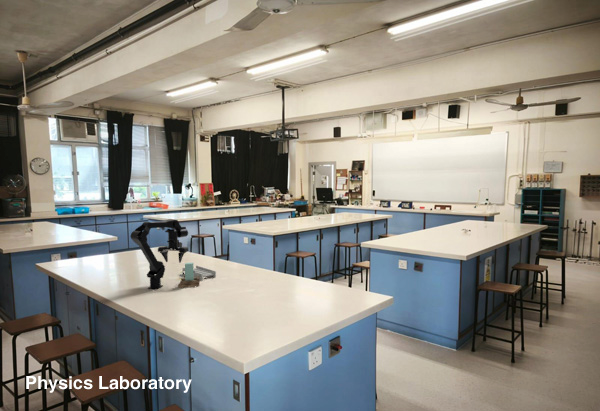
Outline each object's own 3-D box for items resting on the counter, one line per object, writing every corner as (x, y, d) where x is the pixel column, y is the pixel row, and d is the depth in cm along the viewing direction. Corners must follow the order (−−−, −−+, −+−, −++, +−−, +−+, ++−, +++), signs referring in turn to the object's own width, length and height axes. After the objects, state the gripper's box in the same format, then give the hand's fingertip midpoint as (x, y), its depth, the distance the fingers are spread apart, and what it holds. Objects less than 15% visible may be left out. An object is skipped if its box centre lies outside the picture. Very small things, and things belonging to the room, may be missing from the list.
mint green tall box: (185, 283, 218) (184, 264, 217) (185, 282, 221) (185, 263, 221) (194, 283, 219) (194, 263, 219) (195, 281, 223) (194, 262, 222)
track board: (179, 287, 214) (178, 280, 214) (180, 283, 224) (180, 276, 223) (199, 286, 217) (199, 279, 217) (199, 281, 227) (199, 275, 226)
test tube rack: (201, 280, 230) (218, 276, 239) (201, 274, 229) (218, 270, 239) (182, 273, 246) (199, 270, 256) (182, 267, 246) (198, 264, 256)
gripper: (192, 237, 231) (192, 260, 232) (166, 236, 234) (166, 259, 235) (184, 239, 220) (184, 264, 221) (157, 239, 223) (157, 262, 224)
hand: (173, 262), depth 225 cm, fingers open, 9 cm apart
